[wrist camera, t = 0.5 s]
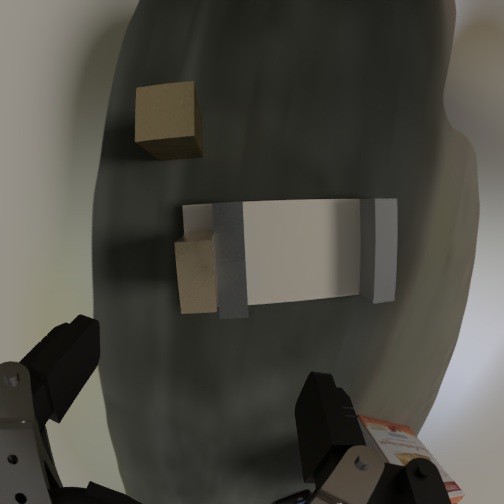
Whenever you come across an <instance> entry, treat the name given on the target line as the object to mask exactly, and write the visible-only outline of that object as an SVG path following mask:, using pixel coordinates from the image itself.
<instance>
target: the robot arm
mask: <svg viewBox="0 0 504 504" xmlns="http://www.w3.org/2000/svg"><path fill="white" fill-rule="evenodd" d="M99 359H100V327H99V322H98V320H95V319H92V318H89V317H86V316H84V315H78V316H77V317H76V318H75V319H74V320H73V321H72V322H71V323H70V324H69V323H64V324H61V325H59V326H56V327H55V328H53V329H52V330H51V331H50V332H49V333H48V334H47V336H45V337H44V338H43V339H42V340H41V342H39V343H38V344H37V345H36V346H35V347H34V348H33V349H32V350H31V351H30V352H29V353H28V354H27V355H26V356H25V357H24V358H23V359H22V360H21V361H20V362H19V363H18V362H11V361H10V362H4V363H2V364H0V504H142V503H140V502H138V501H136V500H134V499H132V498H131V497H129V496H127V495H125V494H123V493H120V492H117V491H114V490H112V489H109V488H106V487H104V486H101V485H99V484H96V483H94V482H91V481H90V482H89V484H88V486H87V488H80V487H63V485H62V483H61V480H60V478H59V476H58V473H57V470H56V467H55V463H54V459H53V456H52V452H51V447H50V443H49V439H48V434H47V429H46V426H45V424H46V422H47V421H48V419H51V420H53V421H55V422H57V423H60V422H61V420H62V418H63V417H64V415H65V414H66V412H67V411H68V409H69V408H70V406H71V404H72V403H73V401H74V400H75V398H76V397H77V395H78V394H79V392H80V391H81V389H82V388H83V386H84V385H85V383H86V382H87V380H88V379H89V377H90V376H91V375H92V373H93V371H94V370H95V369H96V367H97V365H98V362H99ZM295 419H296V427H297V434H298V441H299V448H300V456H301V463H302V471H303V478H304V483H315V486H316V489H315V491H314V492H313V493H312V494H311V495H310V497H309V498H308V499H307V500H306V502H305V503H304V504H452V503H451V500H450V498H449V495H448V492H447V490H446V487H445V485H444V482H443V480H442V477H441V475H440V473H439V470H438V468H437V467H436V465H435V464H434V463H433V462H431V461H430V460H428V459H425V458H414V459H412V460H410V461H409V462H408V463H407V464H406V466H401V465H396V464H391V463H386V462H384V460H383V458H382V456H381V455H380V454H379V453H378V452H377V451H376V450H375V449H373V448H371V447H368V446H367V445H366V442H365V439H364V436H363V433H362V430H361V428H360V425H359V422H358V419H357V417H356V413H355V411H354V409H353V405H352V402H351V400H350V397H349V396H348V395H347V394H346V392H345V391H344V390H343V389H342V388H338V387H336V385H335V382H334V379H333V376H332V375H331V374H329V373H321V372H313V371H312V372H310V374H309V375H308V377H307V380H306V382H305V384H304V386H303V389H302V391H301V393H300V395H299V397H298V399H297V402H296V406H295Z"/></svg>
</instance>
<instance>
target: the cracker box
mask: <svg viewBox="0 0 504 504" xmlns="http://www.w3.org/2000/svg"><path fill="white" fill-rule="evenodd" d="M357 419H358V422H359V425H360V428H361V430H362V433H363V436H364V439H365V442H366V445H367V446H368V447H371V448H373V449H375V450H376V451H377V452H378V453H379V454H380V455H381V456H382V458H383V460H384V462H386V463H391V464H396V465H401V466H406V464H407V463H408V462H409V461H410V460H412V459H414V458H425V459H428V460H430V461H431V462H433V463H434V464H435V465H436V467H437V468H438V470H439V473H440V475H441V477H442V480H443V482H444V485H445V487H446V490H447V492H448V495H449V498H450V500H451V503H452V504H457V502H459V501H460V500H461V499H462V498H463V496H464V495H465V494H464V493H463V491H462V490H461V489H460V488H459V487H458V485H457V484H456V483H455V482H454V480H452V478H451V477H450V476H449V475H448V473H447V472H446V471H445V470H444V469H443V467H442V466H441V465H440V464H439V463H438V461H437V460H436V459H435V458H434V457H433V455H432V454H431V453H430V452H429V451H428V450H427V448H426V447H425V446H424V445H423V444H422V442H421V441H420V440H419V439H418V438H417V436H416V435H415V434H414V433H413V432H412V430H411V429H410V428H409V427H404V426H400V425H395V424H391V423H387V422H383V421H379V420H375V419H371V418H367V417H364V416H360V415H358V416H357Z"/></svg>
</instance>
